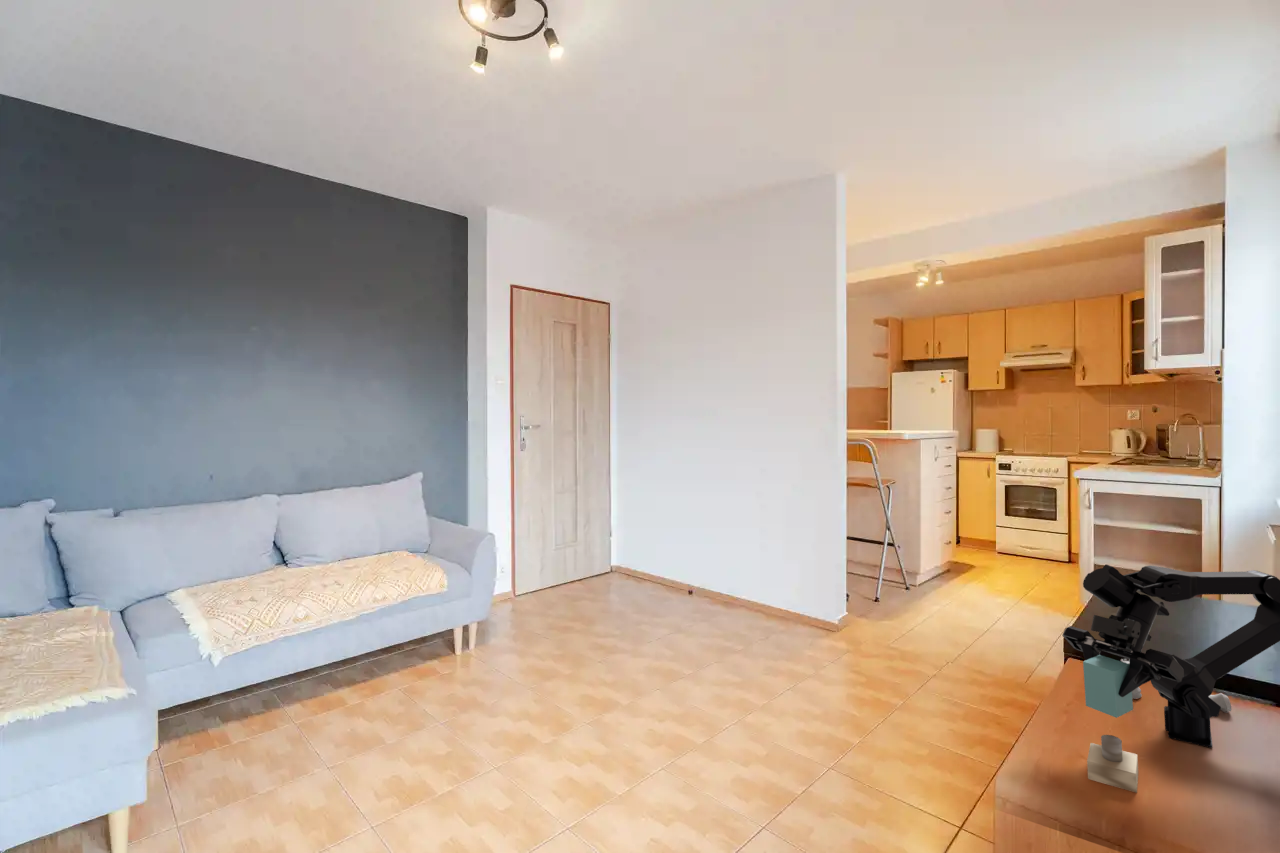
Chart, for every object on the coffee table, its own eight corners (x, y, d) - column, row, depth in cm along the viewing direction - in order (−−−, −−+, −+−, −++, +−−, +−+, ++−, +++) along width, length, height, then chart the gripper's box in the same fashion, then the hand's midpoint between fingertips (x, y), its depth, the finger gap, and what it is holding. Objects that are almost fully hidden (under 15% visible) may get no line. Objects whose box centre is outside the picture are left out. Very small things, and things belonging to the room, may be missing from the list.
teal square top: (1102, 698, 121) (1099, 654, 120) (1133, 709, 116) (1130, 664, 115) (1085, 705, 119) (1083, 661, 118) (1116, 717, 114) (1113, 671, 113)
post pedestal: (1138, 772, 112) (1136, 736, 111) (1136, 792, 106) (1134, 754, 106) (1091, 760, 116) (1089, 725, 116) (1088, 778, 111) (1086, 742, 111)
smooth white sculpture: (1181, 714, 131) (1181, 697, 135) (1232, 724, 126) (1230, 706, 130) (1180, 698, 130) (1179, 682, 134) (1232, 707, 125) (1229, 690, 128)
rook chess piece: (1143, 701, 135) (1141, 666, 135) (1118, 697, 138) (1116, 663, 137) (1140, 692, 139) (1138, 658, 139) (1115, 688, 141) (1113, 655, 141)
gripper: (1064, 588, 127) (1034, 651, 123) (1172, 613, 109) (1141, 688, 105) (1089, 616, 130) (1061, 679, 126) (1197, 644, 113) (1168, 718, 109)
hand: (1103, 689), depth 116 cm, fingers closed on teal square top, 5 cm apart
